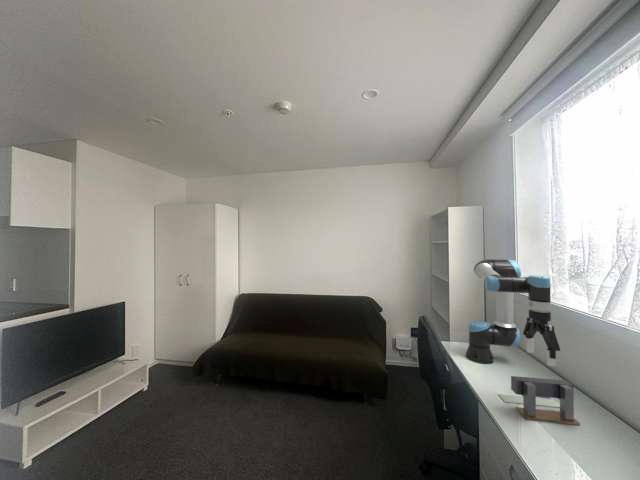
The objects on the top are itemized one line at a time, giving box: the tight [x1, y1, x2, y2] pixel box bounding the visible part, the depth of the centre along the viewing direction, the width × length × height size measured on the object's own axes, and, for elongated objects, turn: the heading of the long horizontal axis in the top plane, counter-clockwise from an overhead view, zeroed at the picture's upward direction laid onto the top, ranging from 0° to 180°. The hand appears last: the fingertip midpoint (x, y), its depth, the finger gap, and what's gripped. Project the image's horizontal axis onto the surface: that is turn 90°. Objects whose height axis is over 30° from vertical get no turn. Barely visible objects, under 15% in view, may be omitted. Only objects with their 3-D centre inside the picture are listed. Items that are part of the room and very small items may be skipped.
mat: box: [497, 393, 560, 409], centre depth 121 cm, size 6×24×1 cm, turn 81°
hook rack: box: [515, 382, 581, 426], centre depth 112 cm, size 10×20×14 cm, turn 81°
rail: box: [510, 375, 575, 399], centre depth 113 cm, size 4×22×6 cm, turn 81°
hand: (540, 358), depth 114 cm, fingers open, 13 cm apart
